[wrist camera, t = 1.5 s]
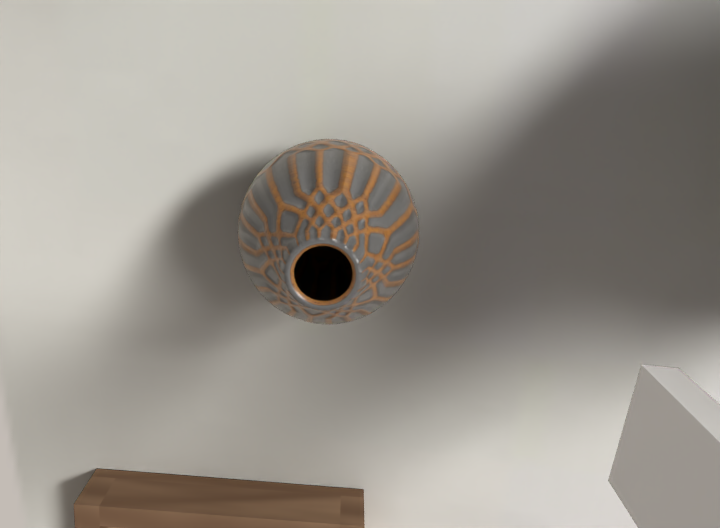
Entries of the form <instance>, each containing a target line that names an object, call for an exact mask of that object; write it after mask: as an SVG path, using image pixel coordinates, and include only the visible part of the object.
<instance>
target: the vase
mask: <svg viewBox="0 0 720 528" xmlns="http://www.w3.org/2000/svg"><path fill="white" fill-rule="evenodd" d="M238 241H239V249H240V253H241V257H242V261H243V263H244V266H245V269H246V271H247V273H248V275H249V277H250V279H251V280H252V282H253V284H254V285H255V286H256V288H257V289H258V290H259V292H260V293H261V294H262V295H263V296H264V297H265V298H266V299H267V300H268V301H269V302H270V303H271V304H272V305H274V306H275V307H276V308H278V309H279V310H281V311H283V312H284V313H286V314H288V315H290V316H292V317H295V318H297V319H300V320H303V321H307V322H311V323H317V324H338V323H345V322H350V321H353V320H356V319H359V318H362V317H364V316H366V315H368V314H370V313H372V312H374V311H375V310H377V309H378V308H380V307H381V306H382V305H384V304H385V303H386V302H387V301H388V300H390V299H391V298H392V297H393V296H394V294H395V293H396V292H397V291H398V290H399V288H400V287H401V286H402V284H403V283H404V281H405V280H406V278H407V276H408V274H409V272H410V270H411V268H412V265H413V263H414V260H415V257H416V253H417V248H418V241H419V221H418V215H417V210H416V206H415V203H414V200H413V197H412V195H411V193H410V190H409V188H408V187H407V185H406V183H405V182H404V180H403V179H402V177H401V176H400V174H399V173H398V172H397V171H396V169H395V168H394V167H393V166H392V165H391V164H390V163H389V162H388V161H386V160H385V159H384V158H383V157H381V156H380V155H378V154H377V153H375V152H374V151H372V150H370V149H368V148H366V147H364V146H362V145H359V144H356V143H353V142H349V141H345V140H337V139H320V140H313V141H309V142H305V143H302V144H299V145H296V146H293V147H291V148H289V149H287V150H285V151H284V152H282V153H280V154H279V155H278V156H276V157H275V158H274V159H272V160H271V161H270V162H269V163H268V164H267V165H266V166H265V167H264V168H263V169H262V170H261V171H260V172H259V173H258V174H257V176H256V177H255V179H254V180H253V182H252V183H251V185H250V187H249V188H248V190H247V192H246V194H245V197H244V199H243V202H242V206H241V210H240V214H239V221H238Z"/></svg>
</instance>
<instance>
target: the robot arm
mask: <svg viewBox="0 0 720 528" xmlns="http://www.w3.org/2000/svg"><path fill="white" fill-rule="evenodd" d="M608 481H609V483H610V484H611V486H612V487H613V489H614V490H615V492H616V494H617V495H618V497H619V498H620V500H621V501H622V503H623V505H624V506H625V508H626V509H627V511H628V512H629V514H630V516H631V517H632V519H633V520H634V522H635V523H636V525H637V527H638V528H720V404H719V403H718V402H717V401H716V400H714V399H713V398H712V397H711V396H710V395H709V394H708V393H707V392H705V391H704V390H703V389H702V388H701V387H700V386H699V385H698V384H696V383H695V382H694V381H693V380H692V379H691V378H690V377H689V376H688V375H686V374H685V373H684V372H683V371H682V370H681V369H680V368H674V367H663V366H652V365H641V368H640V371H639V375H638V378H637V382H636V385H635V388H634V392H633V395H632V399H631V402H630V406H629V409H628V413H627V416H626V420H625V423H624V427H623V430H622V434H621V437H620V441H619V444H618V448H617V451H616V455H615V458H614V462H613V465H612V469H611V472H610V476H609V479H608Z"/></svg>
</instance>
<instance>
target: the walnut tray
mask: <svg viewBox="0 0 720 528" xmlns="http://www.w3.org/2000/svg"><path fill="white" fill-rule="evenodd" d="M74 518H75V528H364V490H363V489H350V488H337V487H325V486H312V485H299V484H286V483H274V482H261V481H248V480H235V479H223V478H210V477H197V476H184V475H171V474H159V473H146V472H133V471H120V470H108V469H96V470H95V472H94V474H93V475H92V477H91V478H90V480H89V481H88V483H87V484H86V486H85V487H84V489H83V491H82V492H81V494H80V495H79V497H78V498H77V500H76V501H75V503H74Z"/></svg>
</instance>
